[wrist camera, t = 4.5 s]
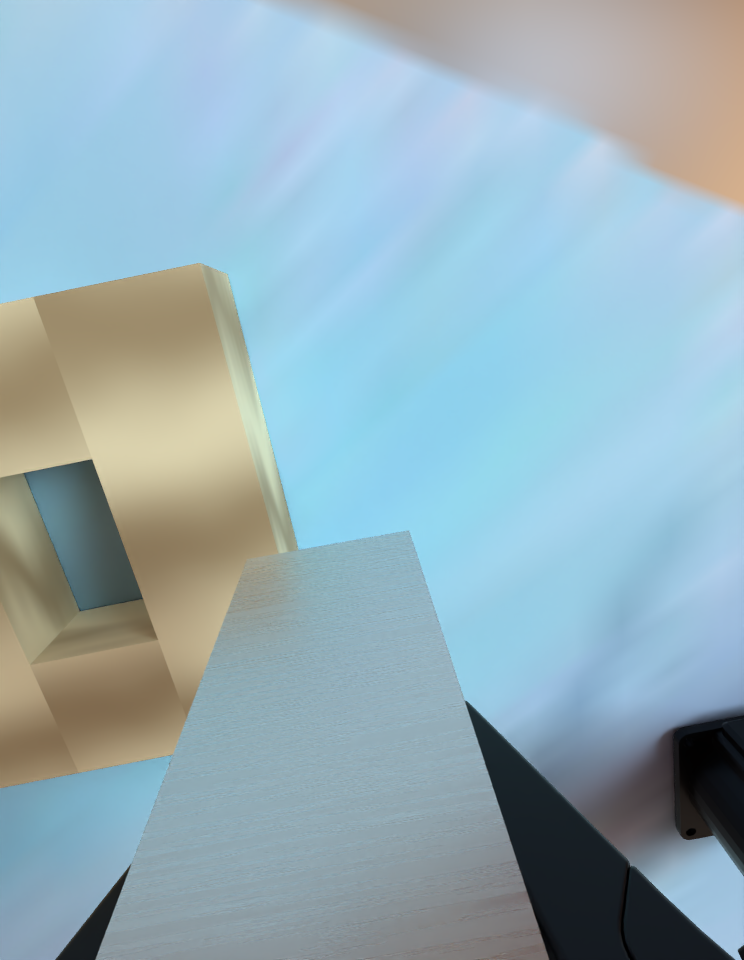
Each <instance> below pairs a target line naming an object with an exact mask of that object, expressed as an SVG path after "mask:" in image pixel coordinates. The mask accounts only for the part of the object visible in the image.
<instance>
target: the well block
mask: <svg viewBox="0 0 744 960" xmlns="http://www.w3.org/2000/svg"><path fill="white" fill-rule="evenodd" d="M90 459H92V460H93V463H94V465H95V468H96V471H97V474H98V476H99V479H100V482H101V485H102V487H103V490H104V493H105V496H106V498H107V501H108V504H109V507H110V509H111V512H112V515H113V518H114V520H115V523H116V526H117V529H118V531H119V534H120V537H121V540H122V542H123V545H124V548H125V551H126V553H127V556H128V559H129V562H130V564H131V567H132V570H133V572H134V575H135V578H136V581H137V583H138V586H139V589H140V592H141V594H142V597H143V599H139V600H134V601H129V602H124V603H119V604H114V605H109V606H104V607H99V608H94V609H89V610H84V611H80V610H79V608H78V605H77V603H76V601H75V598H74V596H73V593H72V591H71V588H70V586H69V583H68V581H67V578H66V576H65V574H64V571H63V569H62V566H61V564H60V561H59V559H58V556H57V554H56V551H55V549H54V547H53V544H52V542H51V539H50V537H49V534H48V532H47V529H46V527H45V525H44V522H43V520H42V517H41V515H40V512H39V510H38V507H37V505H36V502H35V500H34V498H33V495H32V493H31V490H30V488H29V485H28V483H27V480H26V478H25V476H24V473H25V472H30V471H35V470H40V469H45V468H50V467H55V466H60V465H65V464H70V463H75V462H80V461H85V460H90ZM296 550H298V546H297V542H296V539H295V535H294V531H293V527H292V523H291V519H290V515H289V511H288V508H287V504H286V500H285V496H284V492H283V488H282V484H281V480H280V476H279V473H278V469H277V465H276V461H275V457H274V453H273V449H272V445H271V441H270V438H269V434H268V430H267V426H266V422H265V418H264V414H263V410H262V406H261V403H260V399H259V395H258V391H257V387H256V383H255V379H254V375H253V372H252V368H251V364H250V360H249V356H248V352H247V348H246V344H245V340H244V337H243V333H242V329H241V325H240V321H239V317H238V313H237V309H236V305H235V302H234V298H233V294H232V290H231V286H230V282H229V278H228V274H226V273H223V272H221V271H218V270H216V269H213V268H211V267H209V266H206V265H204V264H201V263H197V264H192V265H187V266H182V267H178V268H173V269H168V270H163V271H158V272H153V273H148V274H143V275H139V276H134V277H129V278H124V279H119V280H114V281H109V282H104V283H100V284H95V285H90V286H85V287H80V288H75V289H70V290H65V291H61V292H56V293H51V294H46V295H41V296H36V297H31V298H26V299H22V300H17V301H12V302H7V303H2V304H0V788H3V787H8V786H13V785H19V784H24V783H29V782H34V781H39V780H44V779H50V778H55V777H60V776H65V775H70V774H75V773H81V772H86V771H91V770H96V769H101V768H107V767H112V766H117V765H122V764H127V763H132V762H138V761H143V760H148V759H153V758H158V757H163V756H169V755H173V753H174V751H175V748H176V745H177V743H178V740H179V737H180V735H181V732H182V729H183V727H184V724H185V721H186V719H187V716H188V714H189V711H190V708H191V706H192V703H193V700H194V698H195V695H196V692H197V690H198V687H199V685H200V682H201V679H202V677H203V674H204V671H205V669H206V666H207V663H208V661H209V658H210V655H211V653H212V650H213V648H214V645H215V642H216V640H217V637H218V634H219V632H220V629H221V626H222V624H223V621H224V618H225V616H226V613H227V611H228V608H229V605H230V603H231V600H232V597H233V595H234V592H235V589H236V587H237V584H238V581H239V579H240V576H241V574H242V571H243V568H244V566H245V563H246V560H247V559H251V558H257V557H262V556H268V555H273V554H279V553H285V552H290V551H296Z"/></svg>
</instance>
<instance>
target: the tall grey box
mask: <svg viewBox="0 0 744 960" xmlns="http://www.w3.org/2000/svg"><path fill="white" fill-rule="evenodd" d="M95 960H549V958H548V955H547V952H546V949H545V946H544V943H543V939H542V936H541V933H540V930H539V927H538V924H537V921H536V918H535V915H534V912H533V909H532V906H531V903H530V900H529V897H528V893H527V890H526V887H525V884H524V881H523V878H522V875H521V872H520V869H519V866H518V863H517V860H516V857H515V854H514V851H513V847H512V844H511V841H510V838H509V835H508V832H507V829H506V826H505V823H504V820H503V817H502V814H501V811H500V808H499V805H498V801H497V798H496V795H495V792H494V789H493V786H492V783H491V780H490V777H489V774H488V771H487V768H486V765H485V762H484V759H483V756H482V752H481V749H480V746H479V743H478V740H477V737H476V734H475V731H474V728H473V725H472V722H471V719H470V716H469V713H468V710H467V706H466V703H465V700H464V697H463V694H462V691H461V688H460V685H459V682H458V679H457V676H456V673H455V670H454V667H453V664H452V660H451V657H450V654H449V651H448V648H447V645H446V642H445V639H444V636H443V633H442V630H441V627H440V624H439V621H438V618H437V614H436V611H435V608H434V605H433V602H432V599H431V596H430V593H429V590H428V587H427V584H426V581H425V578H424V575H423V572H422V568H421V565H420V562H419V559H418V556H417V553H416V550H415V547H414V544H413V541H412V538H411V535H410V532H409V531H403V532H398V533H392V534H386V535H381V536H375V537H369V538H364V539H358V540H352V541H347V542H341V543H335V544H330V545H324V546H319V547H313V548H307V549H302V550H296V551H290V552H285V553H279V554H273V555H268V556H262V557H257V558H251V559H247V560H246V563H245V566H244V568H243V571H242V574H241V576H240V579H239V581H238V584H237V587H236V589H235V592H234V595H233V597H232V600H231V603H230V605H229V608H228V611H227V613H226V616H225V618H224V621H223V624H222V626H221V629H220V632H219V634H218V637H217V640H216V642H215V645H214V648H213V650H212V653H211V655H210V658H209V661H208V663H207V666H206V669H205V671H204V674H203V677H202V679H201V682H200V685H199V687H198V690H197V692H196V695H195V698H194V700H193V703H192V706H191V708H190V711H189V714H188V716H187V719H186V721H185V724H184V727H183V729H182V732H181V735H180V737H179V740H178V743H177V745H176V748H175V751H174V753H173V756H172V758H171V761H170V764H169V766H168V769H167V772H166V774H165V777H164V780H163V782H162V785H161V788H160V790H159V793H158V795H157V798H156V801H155V803H154V806H153V809H152V811H151V814H150V817H149V819H148V822H147V825H146V827H145V830H144V832H143V835H142V838H141V840H140V843H139V846H138V848H137V851H136V854H135V856H134V859H133V862H132V864H131V867H130V869H129V872H128V875H127V877H126V880H125V883H124V885H123V888H122V891H121V893H120V896H119V898H118V901H117V904H116V906H115V909H114V912H113V914H112V917H111V920H110V922H109V925H108V928H107V930H106V933H105V935H104V938H103V941H102V943H101V946H100V949H99V951H98V954H97V957H96V959H95Z"/></svg>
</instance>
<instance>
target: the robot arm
mask: <svg viewBox="0 0 744 960" xmlns="http://www.w3.org/2000/svg"><path fill="white" fill-rule="evenodd" d="M465 703H466V706H467V710H468V713H469V716H470V719H471V722H472V725H473V728H474V731H475V734H476V737H477V740H478V743H479V746H480V749H481V752H482V756H483V759H484V762H485V765H486V768H487V771H488V774H489V777H490V780H491V783H492V786H493V789H494V792H495V795H496V798H497V801H498V805H499V808H500V811H501V814H502V817H503V820H504V823H505V826H506V829H507V832H508V835H509V838H510V841H511V844H512V847H513V851H514V854H515V857H516V860H517V863H518V866H519V869H520V872H521V875H522V878H523V881H524V884H525V887H526V890H527V893H528V897H529V900H530V903H531V906H532V909H533V912H534V915H535V918H536V921H537V924H538V927H539V930H540V933H541V936H542V939H543V943H544V946H545V949H546V952H547V955H548V958H549V960H735V959H734V958H733V957H731V956H730V955H729V954H728V953H727V952H726V951H724V950H723V949H722V948H721V947H720V946H719V945H717V944H716V943H715V942H714V941H713V940H712V939H711V938H709V937H708V936H707V935H706V934H705V933H704V932H702V931H701V930H700V929H699V928H698V927H697V926H696V925H695V924H694V923H693V922H692V921H691V920H690V919H689V918H687V917H686V916H685V915H684V914H683V913H682V912H681V911H680V910H679V909H678V908H677V907H676V906H675V905H674V904H673V903H672V902H670V901H669V900H668V899H667V898H666V897H665V896H664V895H663V894H662V893H661V892H660V891H659V890H658V889H657V888H656V887H655V886H654V885H653V884H652V883H651V882H650V881H649V880H648V879H647V878H646V877H645V876H644V875H643V874H642V873H641V872H640V871H639V870H638V869H637V868H636V867H634V866H631V867H630V863H629V861H628V860H627V859H626V858H625V857H624V856H623V855H622V854H621V853H620V852H619V851H618V850H617V849H616V848H615V847H614V846H613V845H612V844H611V843H610V842H609V841H608V840H607V839H606V838H605V837H604V836H603V835H602V834H601V833H600V832H599V831H598V830H597V829H596V828H595V827H594V826H593V825H592V824H591V823H590V822H589V821H588V820H587V819H586V818H585V817H584V816H583V815H582V814H581V813H580V812H579V811H578V810H577V809H576V808H575V807H574V806H573V805H572V804H571V803H570V802H569V801H568V800H567V799H566V798H565V797H564V796H563V795H562V794H561V793H560V792H559V791H558V790H557V789H555V788H554V787H553V786H552V785H551V784H550V783H549V782H548V781H547V780H546V779H545V778H544V777H543V776H542V775H541V774H540V773H539V772H538V771H537V770H536V769H535V768H534V767H533V766H532V765H531V764H530V763H529V762H528V761H527V760H526V759H525V758H524V757H523V756H522V755H521V754H520V753H519V752H518V751H517V750H516V749H515V748H514V747H513V746H512V745H511V744H510V743H509V742H508V741H507V740H506V739H505V738H504V737H503V736H502V735H501V734H500V733H499V732H498V731H497V730H496V729H495V728H494V727H493V726H492V725H491V724H490V723H489V722H488V721H487V720H486V719H485V718H484V717H483V716H482V715H481V714H480V713H479V712H478V711H477V710H476V709H475V708H474V707H473V706H472V705H470V704H469V703H468V702H467V701H465ZM673 741H674V776H675V811H676V828H677V830H678V832H679V833H680V835H681V836H682V837H683V838H684V839H686V840H692V839H697V838H703V837H708V836H713V835H714V836H715V837H716V838H717V840H718V841H719V843H720V844H721V845H722V847H723V848H724V850H725V851H726V852H727V854H728V855H729V856H730V858H731V859H732V861H733V862H734V863H735V865H736V866H737V868H738V869H739V870H740V872H741V873H742V875H743V876H744V716H740V717H735V718H730V719H725V720H719V721H714V722H709V723H704V724H698V725H693V726H688V727H683V728H680V729H679V730H677V731H676V733H675V734H674V738H673ZM130 867H131V865H130V866H129V867H128V869H127V870H126V871H125V872H124V874H123V875H122V876H121V878H120V879H119V880H118V881H117V883H116V884H115V885H114V886H113V888H112V889H111V890H110V891H109V893H108V894H107V895H106V896H105V898H104V899H103V900H102V902H101V903H100V904H99V905H98V907H97V908H96V909H95V910H94V912H93V913H92V914H91V915H90V917H89V918H88V919H87V920H86V922H85V923H84V924H83V926H82V927H81V928H80V929H79V931H78V932H77V933H76V934H75V936H74V937H73V938H72V939H71V941H70V942H69V943H68V944H67V946H66V947H65V948H64V950H63V951H62V952H61V953H60V955H59V956H58V957H57V958H56V960H95V959H96V957H97V954H98V951H99V949H100V946H101V943H102V941H103V938H104V935H105V933H106V930H107V928H108V925H109V922H110V920H111V917H112V914H113V912H114V909H115V906H116V904H117V901H118V898H119V896H120V893H121V891H122V888H123V885H124V883H125V880H126V877H127V875H128V872H129V869H130ZM738 952H739V955H740V957H741V959H742V960H744V945H743V946H742V947H741V948H739V949H738Z"/></svg>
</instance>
